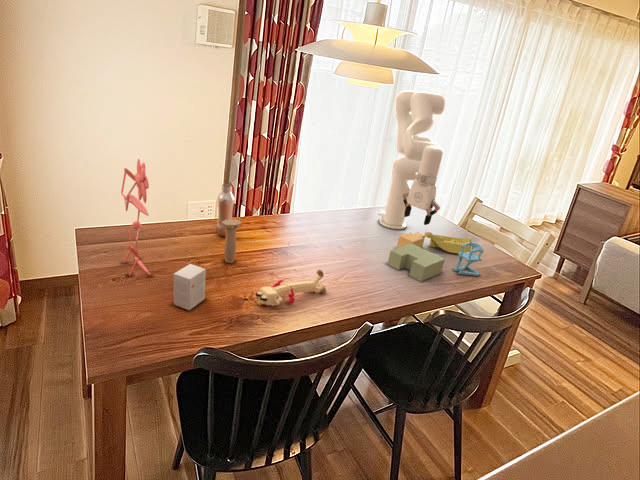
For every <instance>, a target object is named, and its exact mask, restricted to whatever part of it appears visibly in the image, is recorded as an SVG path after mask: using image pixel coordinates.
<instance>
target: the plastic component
mask: <svg viewBox="0 0 640 480" xmlns="http://www.w3.org/2000/svg"><path fill="white" fill-rule="evenodd" d="M424 235H425V238H428V239H430V240H429V247H432V248H440V249H441V250H444V252H448V253H450V254H456V255H457V254H458V253H460V252H461V251H462V245H464V244H466V243H472V238H471V237H466V238H465V237H464V238H463V237H461V238H459V237H453V236H452V237H451V236H444V235H438V234H433V233H432V232H430V231H425V232H424ZM471 249H472V246H470V245H468V246H466V247H464V252H463V253H465V252H470V251H471Z"/></svg>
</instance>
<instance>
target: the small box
mask: <svg viewBox="0 0 640 480" xmlns="http://www.w3.org/2000/svg"><path fill="white" fill-rule="evenodd" d="M206 271H207V270H206V268H203V267H200V266H198V265H195V264H191V263H189V264H187V265H186V266H184V267H182V268H180V269H179V270H178V271H176V272H174V273H173V305H174V306H177V307H179V308H181V309H184V310H187V311H191V310H192V309H193V308H195V307H196V306H197V305H199V304H200V303H201V302H203V301H204V300H205V299H206V273H207V272H206Z"/></svg>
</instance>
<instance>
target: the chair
mask: <svg viewBox="0 0 640 480" xmlns="http://www.w3.org/2000/svg"><path fill="white" fill-rule="evenodd" d="M468 245H470V246H471V251H470V252H465V253H463V252H464V247H466V246H468ZM475 253H478V255H476V254H475ZM483 253H484V248H483V247H482V245H481V244H479V243H475V242H471V243H466V244H464V245H462V251H461V252H460V253H458V260H457V263H456V266H455V268H454V272H458V273H457V274H458V275H464V276H465V275H466V276H474V277H479V276H480V272H478V271H477V270H475V269H474V268H472V267H471V266H470V265H472V264H475V263H476V262H482V260H483V259H482V258H481V256H482V254H483ZM463 259H464V260H465V261H466V262H467V263H466V264H465V265H462V266H461V263H462V260H463ZM467 269H468V270H469V271H465V270H467Z"/></svg>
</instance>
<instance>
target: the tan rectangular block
mask: <svg viewBox="0 0 640 480" xmlns="http://www.w3.org/2000/svg"><path fill="white" fill-rule="evenodd" d="M425 239H426V236H425V234H423V233H422V232H419V231H417V232H410V231H409V232H407V233H403V234H400V235H399V236H398V239H397V244H396V248H399V247H402V246H405V245H408V244H411V243H412V244H414V245H416V246H418V247H420V248H422V249H423V246H424V242H425Z"/></svg>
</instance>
